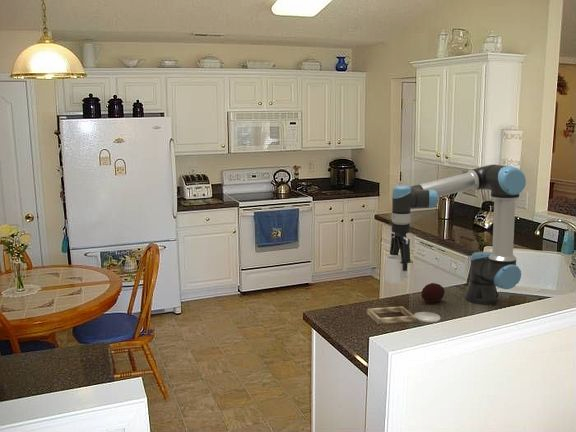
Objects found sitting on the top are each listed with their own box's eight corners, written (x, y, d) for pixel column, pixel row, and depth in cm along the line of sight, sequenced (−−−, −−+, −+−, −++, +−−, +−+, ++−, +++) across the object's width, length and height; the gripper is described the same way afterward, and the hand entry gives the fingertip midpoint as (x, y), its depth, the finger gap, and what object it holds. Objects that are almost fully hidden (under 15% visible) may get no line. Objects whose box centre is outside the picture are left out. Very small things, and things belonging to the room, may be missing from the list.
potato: (448, 303, 255) (449, 284, 253) (427, 306, 250) (428, 287, 248) (436, 298, 263) (437, 279, 261) (415, 301, 258) (416, 282, 256)
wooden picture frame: (402, 310, 244) (402, 306, 244) (415, 321, 231) (416, 316, 231) (366, 313, 241) (366, 308, 240) (377, 323, 228) (378, 319, 227)
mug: (416, 283, 231) (417, 258, 229) (390, 285, 228) (390, 260, 226) (406, 277, 239) (407, 254, 237) (381, 279, 236) (382, 255, 234)
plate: (432, 312, 242) (432, 311, 242) (445, 321, 231) (445, 319, 231) (409, 314, 240) (409, 312, 239) (420, 323, 229) (421, 321, 229)
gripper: (382, 218, 239) (381, 269, 243) (402, 227, 218) (401, 282, 222) (398, 218, 240) (397, 268, 244) (420, 227, 220) (418, 281, 223)
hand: (399, 275), depth 233 cm, fingers closed on mug, 9 cm apart
